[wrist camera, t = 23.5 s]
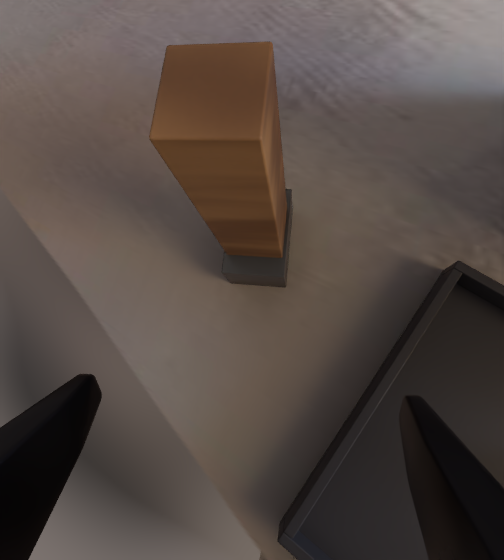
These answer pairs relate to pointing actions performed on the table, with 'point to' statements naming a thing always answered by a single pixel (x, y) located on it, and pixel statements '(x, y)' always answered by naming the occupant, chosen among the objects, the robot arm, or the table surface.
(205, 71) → the wooden block on stand
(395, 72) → the table surface
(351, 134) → the table surface
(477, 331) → the pan
